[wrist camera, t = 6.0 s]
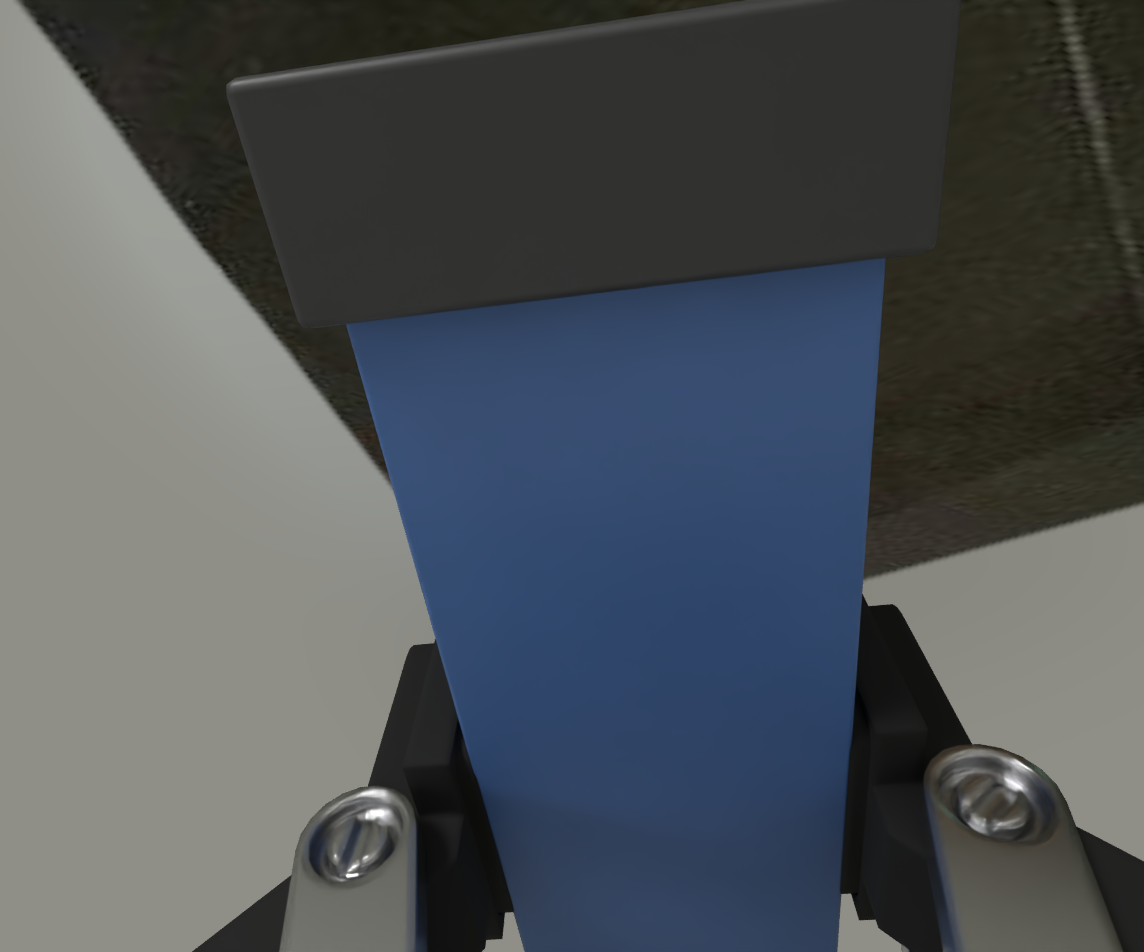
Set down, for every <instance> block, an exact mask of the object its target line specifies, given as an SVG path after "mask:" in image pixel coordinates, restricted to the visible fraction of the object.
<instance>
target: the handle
mask: <svg viewBox="0 0 1144 952" xmlns="http://www.w3.org/2000/svg"><path fill="white" fill-rule="evenodd" d="M960 7H961V0H745V1H739V2H732V3H726V4H719V5H712V6H706V7H699V8H693V9H686V10H679V11H673V12H666V13H660V14H653V15H647V16H640V17H633V18H627V19H620V20H614V21H607V22H600V23H594V24H587V25H581V26H574V27H567V28H561V29H554V30H548V31H541V32H534V33H528V34H521V35H515V36H508V37H502V38H495V39H488V40H482V41H475V42H469V43H462V44H455V45H449V46H442V47H436V48H429V49H422V50H416V51H409V52H403V53H396V54H390V55H383V56H376V57H370V58H363V59H357V60H350V61H343V62H337V63H330V64H324V65H317V66H310V67H304V68H297V69H291V70H284V71H277V72H271V73H264V74H258V75H251V76H245V77H238V78H235V79H233V80H232V81H231V82H229V83H228V84H227V86H226V89H227V98H228V102H229V105H230V108H231V111H232V114H233V117H234V121H235V124H236V127H237V130H238V133H239V136H240V140H241V143H242V146H243V149H244V152H245V155H246V159H247V162H248V165H249V168H250V171H251V174H252V178H253V181H254V184H255V187H256V190H257V193H258V197H259V200H260V203H261V206H262V209H263V212H264V216H265V219H266V222H267V225H268V228H269V231H270V235H271V238H272V241H273V244H274V247H275V250H276V254H277V257H278V260H279V263H280V266H281V269H282V273H283V276H284V279H285V282H286V285H287V288H288V292H289V295H290V298H291V301H292V304H293V307H294V311H295V314H296V317H297V320H298V322H299V323H300V324H301V326H302V327H308V328H319V327H327V326H335V325H343V324H346V325H347V329H348V332H349V336H350V339H351V343H352V346H353V350H354V353H355V357H356V360H357V364H358V367H359V371H360V374H361V378H362V381H363V385H364V389H365V392H366V396H367V399H368V403H369V406H370V410H371V413H372V417H373V420H374V424H375V427H376V431H377V434H378V438H379V441H380V445H381V448H382V452H383V455H384V459H385V462H386V466H387V469H388V473H389V476H390V480H391V483H392V487H393V490H394V494H395V497H396V501H397V504H398V508H399V512H400V515H401V518H402V522H403V526H404V529H405V533H406V535H407V540H408V543H409V547H410V550H411V554H412V557H413V561H414V564H415V567H416V571H417V575H418V578H419V582H420V585H421V589H422V592H423V596H424V599H425V603H426V606H427V610H428V613H429V616H430V620H431V624H432V628H433V631H434V635H435V638H436V642H437V645H438V649H439V652H440V656H441V659H442V663H443V666H444V670H445V673H446V677H447V680H448V684H449V687H450V691H451V694H452V698H453V701H454V705H455V708H456V712H457V715H458V719H459V722H460V726H461V729H462V733H463V736H464V740H465V743H466V747H467V751H468V754H469V758H470V761H471V765H472V768H473V771H474V774H475V775H476V777H477V781H478V784H479V788H480V791H481V795H482V798H483V802H484V805H485V809H486V812H487V816H488V820H489V823H490V827H491V830H492V834H493V837H494V841H495V844H496V848H497V851H498V855H499V858H500V862H501V865H502V869H503V873H504V876H505V880H506V883H507V887H508V890H509V894H510V897H511V901H512V904H513V908H514V911H513V912H514V915H515V919H516V923H517V926H518V930H519V933H520V937H521V940H522V943H523V947H524V951H525V952H837V947H838V933H839V919H840V905H841V893H840V888H841V874H842V859H843V845H844V830H845V815H846V801H847V786H848V772H849V757H850V748H851V744H852V732H853V718H854V703H855V689H856V675H857V660H858V646H859V632H860V617H861V603H862V588H863V574H864V560H865V545H866V531H867V517H868V502H869V488H870V474H871V459H872V445H873V430H874V416H875V402H876V387H877V373H878V359H879V344H880V330H881V315H882V301H883V287H884V272H885V258H891V257H899V256H908V255H916V254H923V253H925V252H927V251H930V250H932V249H934V246H935V244H936V242H937V234H938V225H939V215H940V205H941V195H942V185H943V175H944V165H945V155H946V145H947V136H948V126H949V116H950V106H951V96H952V86H953V76H954V66H955V56H956V46H957V37H958V27H959V17H960Z"/></svg>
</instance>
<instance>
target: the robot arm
mask: <svg viewBox="0 0 1144 952" xmlns="http://www.w3.org/2000/svg"><path fill="white" fill-rule="evenodd" d="M840 893H841V894H848V893H849V894H850V893H851V895H852V898H853V901H854V905H855V908H856V911H857V915H858V918H859V920H876V922H877V925H878V928H879V929H881V930H882V931H884V932H885V933H886V934H888V935H889V936H891V937H892V938H893V939H895V940H896V941H898V942H899V943H901V944H902V948H901V950H902V952H1144V861H1142V860H1140V859H1138V858H1136V857H1134V856H1132V855H1130V854H1128V853H1127V852H1124V851H1123V850H1121V849H1119V848H1117V847H1115V846H1113V845H1111V844H1109V843H1107V842H1105V841H1103V840H1102V839H1100V838H1098V837H1096V836H1094V835H1092V834H1090V833H1088V832H1086V831H1084V830H1082V829H1080V828H1078V827H1076V825H1075V822H1074V820H1073V817H1072V815H1071V812H1070V809H1069V807H1068V804H1067V802H1066V800H1065V798H1064V797H1063V795H1062V793H1061V791H1060V789H1059V788H1058V786H1057V784H1056V783H1055V782H1054V781H1052V779H1051V778H1049V776H1048V775H1047V774H1045V772H1043V770H1042V769H1040V768H1039V767H1037V766H1036V765H1034V764H1032V763H1031V762H1029V761H1028V760H1026V759H1025V758H1023V757H1021V756H1019V755H1016V754H1014V753H1011V752H1009V751H1007V750H1004V749H1002V748H997V747H992V746H986V745H981V744H974V745H973V744H972V743H971V741H970V739H969V738H968V736H967V734H966V732H965V730H964V728H963V726H962V725H961V723H960V721H959V719H958V717H957V716H956V713H955V712H954V710H953V708H952V706H951V704H950V702H949V700H948V699H947V697H946V695H945V693H944V691H943V689H942V687H941V686H940V684H939V682H938V680H937V678H936V676H935V675H934V673H933V671H932V669H931V667H930V665H929V663H928V661H927V660H926V658H925V656H924V654H923V652H922V650H921V648H920V647H919V645H918V643H917V641H916V639H915V637H914V635H913V634H912V632H911V630H910V628H909V626H908V624H907V622H906V621H905V619H904V617H903V615H902V613H901V612H900V611H899V609H898V608H897V607H896V606H895V605H893V604H890V605H879V606H868V604H867V602H866V600H865V598H864V596H863V594H862V603H861V617H860V632H859V646H858V660H857V675H856V689H855V703H854V718H853V732H852V744H851V748H850V757H849V772H848V786H847V801H846V815H845V830H844V845H843V859H842V874H841V888H840ZM513 911H514V908H513V904H512V901H511V897H510V894H509V890H508V887H507V883H506V880H505V876H504V873H503V869H502V865H501V862H500V858H499V855H498V851H497V848H496V844H495V841H494V837H493V834H492V830H491V827H490V823H489V820H488V816H487V812H486V809H485V805H484V802H483V798H482V795H481V791H480V788H479V784H478V781H477V777H476V775H475V774H474V771H473V768H472V765H471V761H470V758H469V754H468V751H467V747H466V743H465V740H464V736H463V733H462V729H461V726H460V722H459V719H458V715H457V712H456V708H455V705H454V701H453V698H452V694H451V691H450V687H449V684H448V680H447V677H446V673H445V670H444V666H443V663H442V659H441V656H440V652H439V649H438V645H437V642H436V639H435V643H433V644H421V645H413V646H412V647H411V648H410V650H409V652H408V655H407V657H406V661H405V664H404V667H403V670H402V674H401V677H400V681H399V684H398V687H397V691H396V694H395V697H394V701H393V704H392V707H391V711H390V714H389V718H388V721H387V724H386V727H385V731H384V734H383V738H382V741H381V744H380V748H379V751H378V754H377V758H376V761H375V764H374V767H373V771H372V774H371V777H370V781H369V784H368V787H360V788H357V789H355V790H352V791H349V792H346V793H343V794H341V795H340V796H338V797H337V798H335V799H333V800H332V801H330V802H328V803H327V804H325V806H323V807H322V808H321V809H320V810H319V811H318V812H317V813H316V814H315V815H314V816H313V817H312V818H311V819H310V821H309V822H308V824H307V825H306V827H305V829H304V830H303V832H302V833H301V835H300V838H299V842H298V845H297V848H296V851H295V857H294V863H293V869H292V875H291V876H290V877H288V878H287V879H286V880H284V881H283V882H282V883H280V884H279V885H278V886H277V887H275V888H274V889H273V890H271V891H270V892H269V893H268V894H266V895H265V896H264V897H262V898H261V899H260V900H258V901H257V902H256V903H255V904H253V905H252V906H251V907H249V908H248V909H247V910H246V911H244V912H243V913H242V914H240V915H239V916H238V917H236V918H235V919H234V920H233V921H232V922H230V923H229V924H227V925H226V926H225V927H224V928H222V929H221V930H220V931H218V932H217V933H216V934H215V935H213V936H212V937H211V938H209V939H208V940H207V941H205V942H204V943H203V944H202V945H200V946H199V947H198V948H196V949H195V950H194V951H192V952H482V951H483V950H484V949H485V945H486V940H491V939H502V936H503V927H504V916H505V912H513Z"/></svg>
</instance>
